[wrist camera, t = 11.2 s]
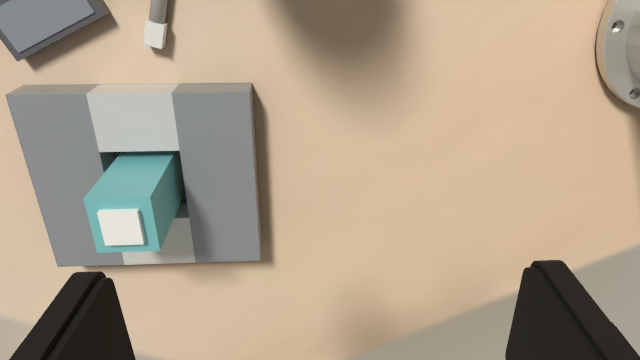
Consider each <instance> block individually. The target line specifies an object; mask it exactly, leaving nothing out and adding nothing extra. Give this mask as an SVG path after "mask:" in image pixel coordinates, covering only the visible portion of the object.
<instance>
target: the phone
mask: <svg viewBox="0 0 640 360" xmlns="http://www.w3.org/2000/svg"><path fill="white" fill-rule="evenodd" d="M109 13H111V12H110V11H109V9H108V8H107V6H106V4H105V3H104V1H103V0H0V39H1V41H2V42H3V43H4V44H5V46H6V47H7V48H8V50H9V51H10V52H11V54H12V55H13V56H14V58H15V59H16V60H17V61H20V60H22V59H24V58H26V57H28V56H30V55H32V54H34V53H36V52H38V51H39V50H41V49H43V48H45V47H47V46H49V45H51V44H53V43H55V42H56V41H58V40H60V39H62V38H64V37H66V36H68V35H70V34H71V33H73V32H75V31H77V30H79V29H81V28H83V27H85V26H87V25H88V24H90V23H92V22H94V21H96V20H98V19H100V18H102V17H103V16H105V15H107V14H109Z"/></svg>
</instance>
